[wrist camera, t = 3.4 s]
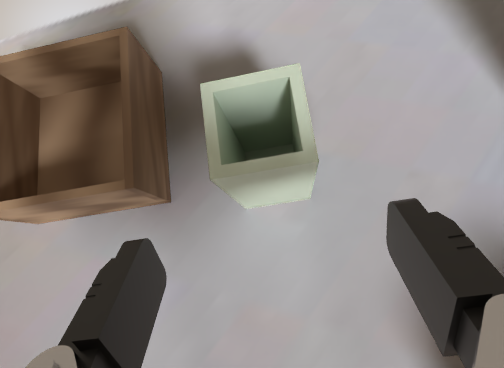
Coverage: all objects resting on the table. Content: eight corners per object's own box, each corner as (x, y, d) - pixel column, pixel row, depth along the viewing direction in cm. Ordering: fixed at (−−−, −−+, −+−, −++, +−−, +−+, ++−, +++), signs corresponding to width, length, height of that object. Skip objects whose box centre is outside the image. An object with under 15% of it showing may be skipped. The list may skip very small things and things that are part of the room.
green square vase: (299, 138, 24) (299, 62, 15) (310, 198, 23) (318, 161, 13) (237, 149, 25) (199, 83, 15) (245, 209, 24) (209, 179, 14)
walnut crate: (161, 72, 27) (126, 26, 22) (171, 202, 25) (133, 187, 19) (41, 98, 29) (-20, 61, 23) (37, 223, 26) (-34, 216, 20)
